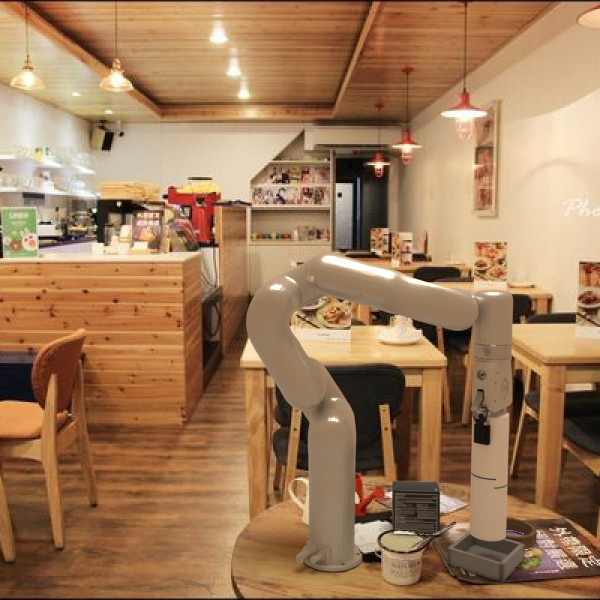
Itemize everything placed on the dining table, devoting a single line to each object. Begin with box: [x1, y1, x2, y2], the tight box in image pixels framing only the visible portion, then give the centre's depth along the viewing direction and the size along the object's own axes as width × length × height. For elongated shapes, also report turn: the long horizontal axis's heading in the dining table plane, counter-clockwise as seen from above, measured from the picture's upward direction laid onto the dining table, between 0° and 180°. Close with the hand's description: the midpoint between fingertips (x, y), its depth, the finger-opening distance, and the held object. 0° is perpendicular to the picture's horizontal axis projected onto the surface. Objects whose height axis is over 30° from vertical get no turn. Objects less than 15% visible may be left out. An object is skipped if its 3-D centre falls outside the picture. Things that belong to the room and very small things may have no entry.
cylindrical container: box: [469, 410, 510, 541], centre depth 137 cm, size 7×7×25 cm
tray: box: [446, 530, 526, 583], centre depth 139 cm, size 12×12×4 cm
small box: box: [391, 480, 441, 534], centre depth 154 cm, size 11×6×10 cm, turn 84°
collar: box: [505, 516, 538, 549], centre depth 149 cm, size 11×11×3 cm
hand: (489, 438), depth 137 cm, fingers closed on cylindrical container, 7 cm apart
